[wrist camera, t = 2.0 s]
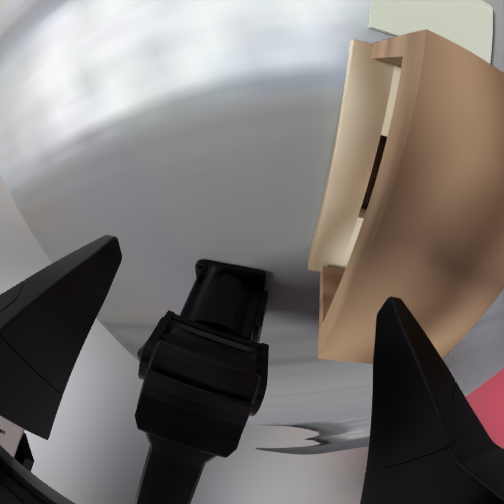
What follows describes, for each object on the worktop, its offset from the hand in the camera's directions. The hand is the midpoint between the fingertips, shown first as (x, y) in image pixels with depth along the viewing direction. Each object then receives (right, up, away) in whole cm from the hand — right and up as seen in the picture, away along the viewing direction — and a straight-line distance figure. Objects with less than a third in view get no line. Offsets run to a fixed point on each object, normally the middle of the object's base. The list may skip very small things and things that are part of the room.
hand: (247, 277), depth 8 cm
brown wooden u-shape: (+10, +5, +7) cm, 13 cm away
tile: (+12, +16, 0) cm, 20 cm away
